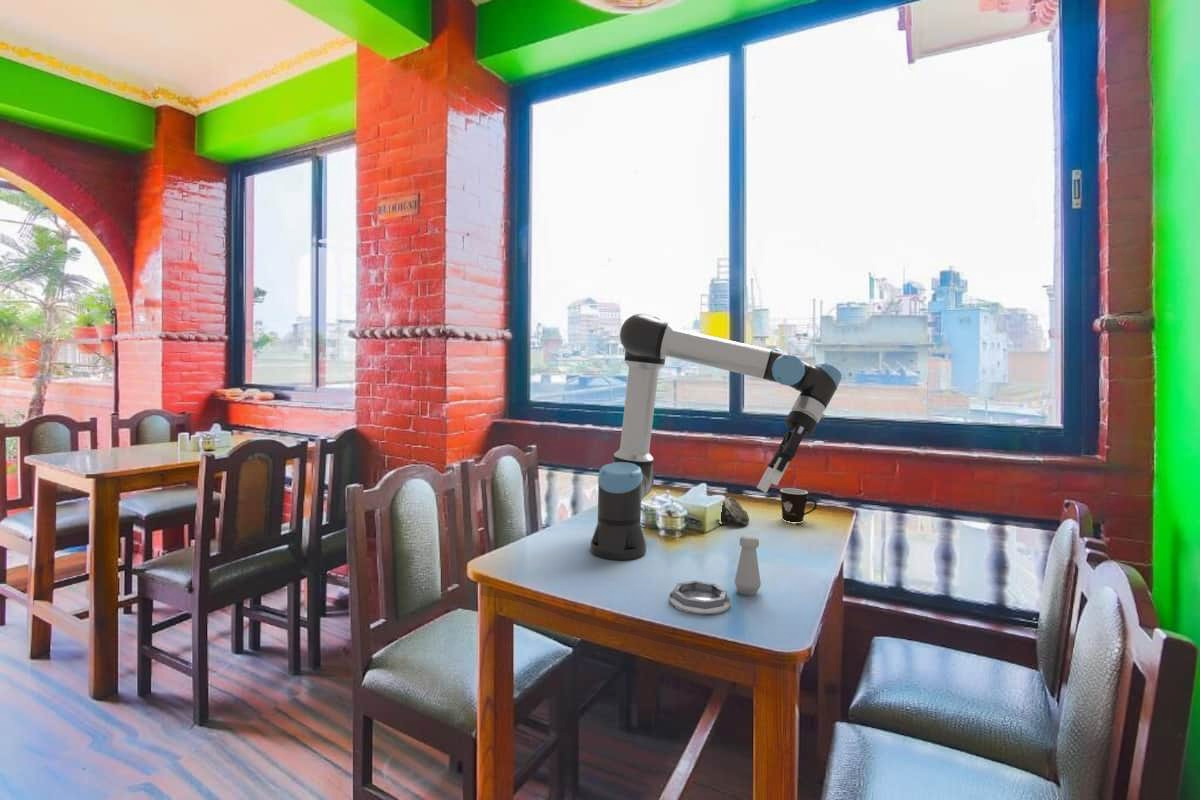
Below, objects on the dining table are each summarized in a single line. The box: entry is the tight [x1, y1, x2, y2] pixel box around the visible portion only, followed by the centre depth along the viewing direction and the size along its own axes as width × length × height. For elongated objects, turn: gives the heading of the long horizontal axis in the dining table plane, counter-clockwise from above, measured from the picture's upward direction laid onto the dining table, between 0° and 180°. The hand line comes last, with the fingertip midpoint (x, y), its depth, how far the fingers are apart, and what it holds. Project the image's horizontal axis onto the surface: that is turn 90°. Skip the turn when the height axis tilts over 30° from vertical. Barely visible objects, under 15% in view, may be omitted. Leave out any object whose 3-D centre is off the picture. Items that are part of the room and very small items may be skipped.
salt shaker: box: [734, 534, 762, 597], centre depth 135 cm, size 6×6×13 cm
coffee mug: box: [779, 487, 818, 522], centre depth 195 cm, size 12×9×10 cm
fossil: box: [721, 496, 750, 527], centre depth 192 cm, size 11×9×10 cm
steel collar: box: [669, 580, 731, 615], centre depth 129 cm, size 13×13×2 cm
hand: (766, 486), depth 152 cm, fingers open, 13 cm apart
